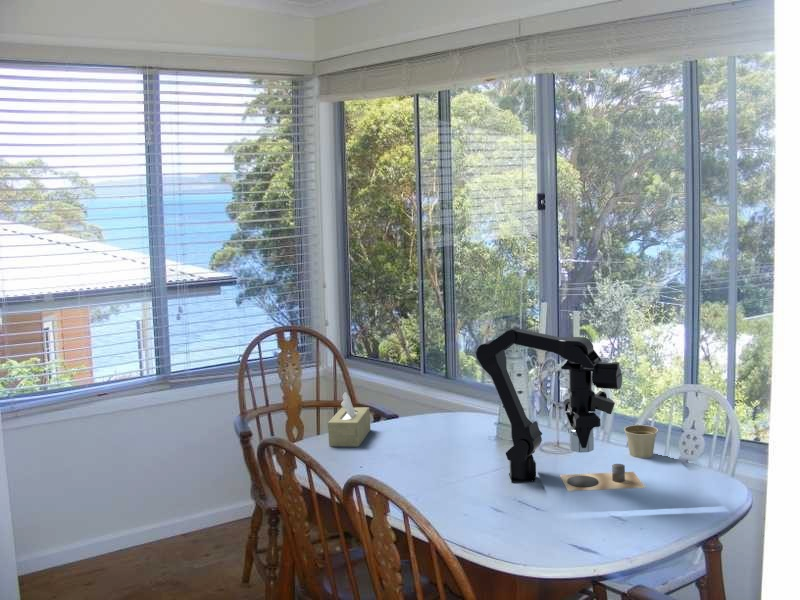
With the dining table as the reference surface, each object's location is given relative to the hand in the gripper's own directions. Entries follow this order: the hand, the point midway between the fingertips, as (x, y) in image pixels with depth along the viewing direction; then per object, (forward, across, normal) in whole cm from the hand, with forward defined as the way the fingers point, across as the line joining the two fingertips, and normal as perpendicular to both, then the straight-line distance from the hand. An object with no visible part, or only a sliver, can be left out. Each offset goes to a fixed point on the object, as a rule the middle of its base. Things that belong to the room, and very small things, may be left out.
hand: (581, 444), depth 219 cm
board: (+12, 0, -5) cm, 13 cm away
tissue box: (+12, +53, +65) cm, 85 cm away
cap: (+1, 0, 0) cm, 1 cm away
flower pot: (+12, +20, -21) cm, 31 cm away
